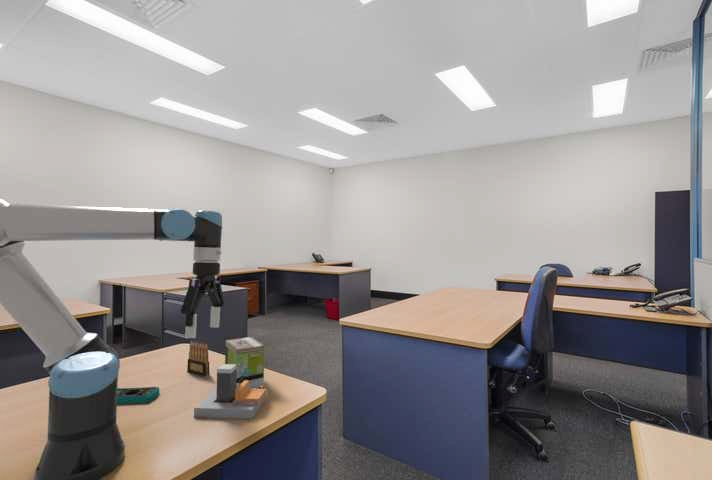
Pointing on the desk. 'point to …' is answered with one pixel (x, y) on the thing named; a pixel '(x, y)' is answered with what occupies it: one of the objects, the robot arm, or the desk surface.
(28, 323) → the robot arm
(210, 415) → the socket plate
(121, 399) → the digital multimeter
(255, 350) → the tea box
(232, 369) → the plug
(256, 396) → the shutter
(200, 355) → the ammunition clip
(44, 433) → the desk surface
